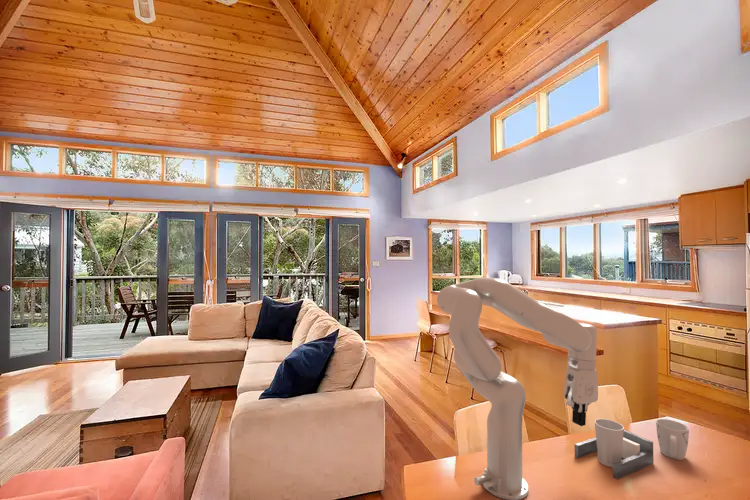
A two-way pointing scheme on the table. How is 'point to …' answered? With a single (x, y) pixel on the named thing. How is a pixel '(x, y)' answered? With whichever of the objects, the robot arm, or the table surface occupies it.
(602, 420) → the cup
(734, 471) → the table surface
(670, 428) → the mug
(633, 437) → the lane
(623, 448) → the pusher plate
